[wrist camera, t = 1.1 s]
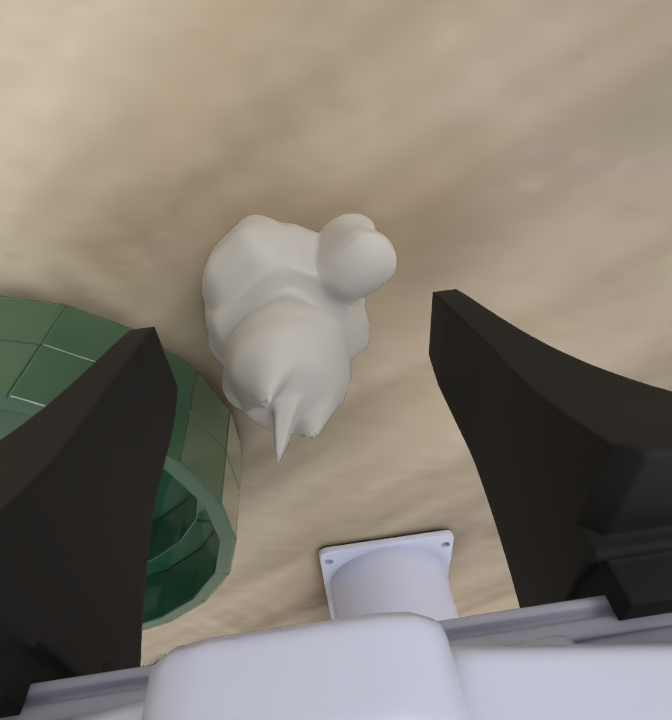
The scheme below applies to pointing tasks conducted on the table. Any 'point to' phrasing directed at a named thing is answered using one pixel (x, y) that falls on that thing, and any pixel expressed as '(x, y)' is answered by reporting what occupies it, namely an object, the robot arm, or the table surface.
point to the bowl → (183, 461)
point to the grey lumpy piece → (292, 316)
